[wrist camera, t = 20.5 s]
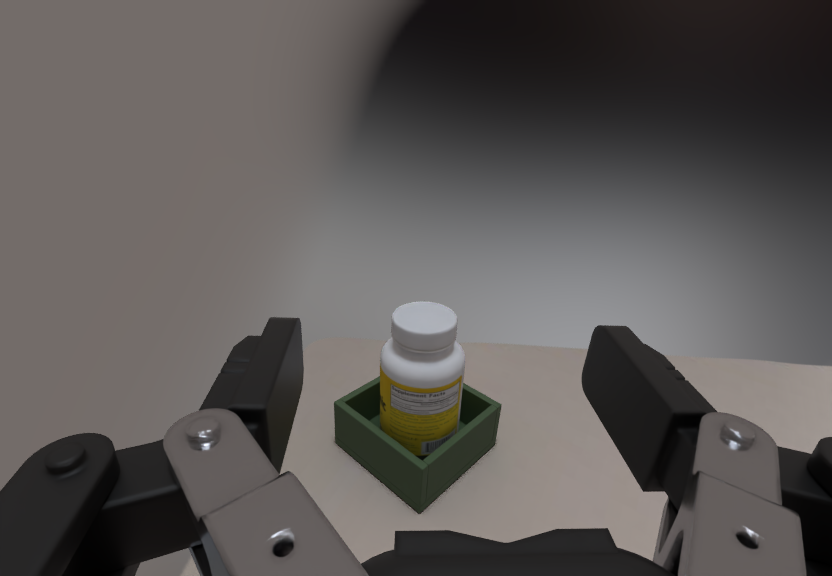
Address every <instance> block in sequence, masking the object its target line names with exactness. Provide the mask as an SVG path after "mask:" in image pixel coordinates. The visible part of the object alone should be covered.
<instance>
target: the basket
mask: <svg viewBox="0 0 832 576" xmlns="http://www.w3.org/2000/svg"><path fill="white" fill-rule="evenodd" d="M500 411H501V404H500V403H498V402H496V401H494V400H492V399H491V398H489V397H487V396H485V395H484V394H482V393H480V392H478V391H477V390H475V389H473V388H471V387H470V386H468V385H466V384H464V383H463V389H462V399H461V409H460V419H459V429H458V432H457V433H456V434H455V435H453V436H452V437H451V438H450V439H449V440H447V441H446V442H445V443H444V444H442V445H441V446H440V447H439V448H437V449H436V450H435V451H434V452H432V453H431V454H430V455H429V456H427V457H426V458H425V459H424V460H423V461H422V460H420V459H419V458H418V457H416V456H415V455H414V454H412V453H411V452H410V451H408V450H407V449H406V448H404V447H403V446H402V445H400V444H399V443H398V442H396V441H395V440H394V439H392V438H391V437H390V436H388V435H387V434H386V433H384V432H383V431H382V430H380V376H379V377H378V378H376V379H374V380H372V381H370V382H369V383H367V384H365V385H363V386H362V387H360V388H358V389H356V390H355V391H353V392H351V393H349V394H348V395H346V396H344V397H342V398H340V399H339V400H337V401H335V402H334V415H335V443H336V444H338V445H339V446H340V447H341V448H342V449H343V450H345V451H346V452H347V453H348V454H349V455H351V456H352V457H353V458H354V459H355V460H356V461H358V462H359V463H360V464H361V465H362V466H364V467H365V468H366V469H367V470H368V471H369V472H371V473H372V474H373V475H374V476H375V477H377V478H378V479H379V480H380V481H381V482H382V483H384V484H385V485H386V486H387V487H388V488H390V489H391V490H392V491H393V492H394V493H395V494H397V495H398V496H399V497H400V498H401V499H403V500H404V501H405V502H406V503H407V504H408V505H410V506H411V507H412V508H413V509H414V510H416V511H417V512H418V513H421V512H422V511H423V510H424V509H425V508H426V507H427V506H428V505H429V504H431V503H432V502H433V501H434V500H435V499H436V498H437V497H438V496H439V495H440V494H441V493H443V492H444V491H445V490H446V489H447V488H448V487H449V486H450V485H451V484H452V483H453V482H455V481H456V480H457V479H458V478H459V477H460V476H461V475H462V474H463V473H464V472H465V471H467V470H468V469H469V468H470V467H471V466H472V465H473V464H474V463H475V462H476V461H477V460H479V459H480V458H481V457H482V456H483V455H484V454H485V453H486V452H487V451H488V450H489V449H490V448H492V447H493V446H494V445H495V441H496V435H497V429H498V423H499V417H500Z"/></svg>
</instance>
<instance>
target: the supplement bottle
mask: <svg viewBox="0 0 832 576" xmlns="http://www.w3.org/2000/svg"><path fill="white" fill-rule="evenodd" d="M391 333H392V338H390V339H389V340H388V341H387V342H386V343H385V345H384V346H383V348H382V351H381V356H380V430H382V431H383V432H384V433H386V434H387V435H388V436H390V437H391V438H392V439H394V440H395V441H396V442H398V443H399V444H400V445H402V446H403V447H404V448H406V449H407V450H408V451H410V452H411V453H412V454H414V455H415V456H416V457H418V458H419V459H420V460H422V461H423V460H424V459H425V458H426V457H427V456H429V455H430V454H431V453H432V452H434V451H435V450H436V449H437V448H439V447H440V446H441V445H442V444H444V443H445V442H446V441H447V440H449V439H450V438H451V437H452V436H453V435H455V434H456V433H457V432H458V429H459V419H460V409H461V399H462V389H463V379H464V369H465V355H464V351H463V349H462V347H461V346H460V344H459V343H458V342H457V341H456V334H457V316H456V314H455V313H454V312H453V311H452V310H451V309H450V308H448V307H446V306H444V305H441V304H438V303H434V302H424V301H423V302H422V301H421V302H420V301H419V302H411V303H407V304H404V305H402V306H400V307H398V308H397V309H396V310H395V311H394V312H393V314H392V327H391Z"/></svg>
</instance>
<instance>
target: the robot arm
mask: <svg viewBox="0 0 832 576" xmlns="http://www.w3.org/2000/svg"><path fill="white" fill-rule="evenodd" d="M301 334H302V333H301V322H300V319H299V318H276V317H271V318H270V319H269V320H268V322H267V324H266V327H265V329H264V331H263V333H262V335H261V336H247V337H246V338H245V339H243V340H242V341H241V342H239V343H238V344H237V345H235V346H234V347H233V349H232V351H231V353H230V355H229V356H228V358H227V362H225V364H224V366H223V368H222V369H221V373H220V374H219V375H218V377H217V378H216V380H215V382H214V384H213V386H212V387H211V389H210V391H209V393H208V395H207V397H206V399H205V400H204V402H203V404H202V406H201V408H200V409H199V411H197V412H194V413H191V414H189V415H187V416H185V417H183V418H181V419H180V420H178V421H177V422H175V423H174V424H173V425H172V426H171V427H170V428H169V430H168V431H167V433H166V435H165V436H164V439H162V440H160V441H156V442H153V443H149V444H144V445H140V446H135V447H131V448H126V449H122V450H117V451H115V449H114V446H113V443H112V441H111V440H110V439H109V438H108V437H106V436H104V435H101V434H96V433H84V434H77V435H72V436H68V437H65V438H62V439H60V440H57V441H55V442H53V443H50V444H49V445H47V446H45V447H43V448H41V449H40V450H39V451H37V452H36V453H34V454H33V455H32V456H31V457H30V458H28V459H27V460H26V461H25V463H24V464H23V465H22V466H21V467H20V468H19V470H18V471H17V472H16V473H15V474H14V476H13V477H12V478H11V479H10V480H9V482H8V483H7V484H6V485H5V487H4V488H3V489H2V490H1V491H0V576H135V574H136V571H137V569H138V567H139V565H140V562H144V561H147V560H150V559H153V558H157V557H160V556H163V555H167V554H170V553H173V552H176V551H180V550H183V549H186V548H189V550H190V552H191V555H192V557H193V560H194V562H195V564H196V567H197V569H198V571H199V574H200V576H832V437H826V438H823V439H821V440H820V441H819V442H818V444H817V446H816V448H815V449H814V451H813V453H812V454H809V453H805V452H800V451H796V450H791V449H787V448H783V447H778V446H777V445H776V443H775V441H774V440H773V439H772V437H771V436H770V435H769V434H768V433H766V432H765V431H764V430H763V429H761V428H760V427H758V426H757V425H755V424H753V423H752V422H750V421H748V420H746V419H743V418H741V417H738V416H735V415H732V414H727V413H721V412H717V411H716V410H715V409H714V408H713V407H712V406H711V405H710V404H709V403H708V401H707V400H706V399H705V398H704V397H703V396H702V395H701V394H700V393H699V392H698V391H697V390H696V389H695V388H694V387H693V386H692V385H691V384H690V383H689V382H688V381H685V377H684V376H683V375H682V374H681V373H680V372H679V371H678V370H675V367H674V366H673V365H672V364H671V363H670V362H669V361H668V360H667V358H666V357H665V356H664V355H662V354H660V353H659V352H657V351H656V350H654V349H653V348H651V347H649V346H648V345H646V344H643V343H642V342H641V341H640V339H639V338H638V337H637V336H636V335H635V334H634V333H633V332H632V331H631V330H630V329H629V328H628V327H626V326H601V325H600V326H597V327H596V328H595V329H594V331H593V334H592V337H591V342H590V345H589V349H588V352H587V356H586V360H585V364H584V367H583V371H582V387H583V391H584V393H585V395H586V397H587V399H588V400H589V402H590V404H591V405H592V407H593V409H594V410H595V412H596V414H597V415H598V417H599V419H600V420H601V422H602V424H603V425H604V427H605V429H606V430H607V432H608V434H609V435H610V437H611V439H612V440H613V442H614V444H615V445H616V447H617V449H618V450H619V452H620V454H621V455H622V457H623V459H624V460H625V462H626V464H627V465H628V467H629V469H630V470H631V472H632V474H633V475H634V477H635V479H636V480H637V482H638V484H639V485H640V487H641V489H642V490H643V492H651V491H665V492H666V494H667V495H668V499H667V501H666V503H665V506H664V509H663V514H662V518H661V523H660V528H659V533H658V538H657V542H656V547H655V552H654V557H653V561H651V560H649V559H647V558H644V557H642V556H640V555H638V554H635V553H632V552H629V551H626V550H624V549H620V548H617V547H616V545H615V543H614V541H613V539H612V536H611V534H610V532H609V530H608V528H604V529H555V530H552V531H549V532H545V533H542V534H538V535H535V536H531V537H528V538H524V539H521V540H518V541H514V542H510V543H503V542H497V541H493V540H489V539H484V538H480V537H475V536H471V535H467V534H462V533H458V532H453V531H449V530H444V531H395V544H394V550H391V551H387V552H384V553H382V554H379V555H377V556H375V557H372V558H370V559H369V560H367V561H365V562H364V563H362V564H360V563H359V561H358V560H357V559H356V557H355V556H354V554H353V553H352V552H351V550H350V549H349V548H348V546H347V545H346V544H345V542H344V541H343V540H342V538H341V537H340V535H339V534H338V533H337V531H336V530H335V529H334V527H333V526H332V525H331V523H330V522H329V521H328V519H327V518H326V516H325V515H324V514H323V512H322V511H321V510H320V508H319V507H318V506H317V504H316V503H315V501H314V500H313V499H312V497H311V496H310V495H309V493H308V492H307V491H306V489H305V488H304V487H303V485H302V484H301V482H300V481H299V480H298V478H297V477H296V476H295V475H294V474H293V473H291V472H289V471H287V472H285V473H283V474H281V475H279V474H280V470H281V467H282V463H283V459H284V455H285V451H286V448H287V444H288V440H289V436H290V433H291V429H292V425H293V421H294V417H295V414H296V410H297V406H298V402H299V399H300V395H301V391H302V385H303V373H304V367H303V350H302V335H301Z"/></svg>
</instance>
